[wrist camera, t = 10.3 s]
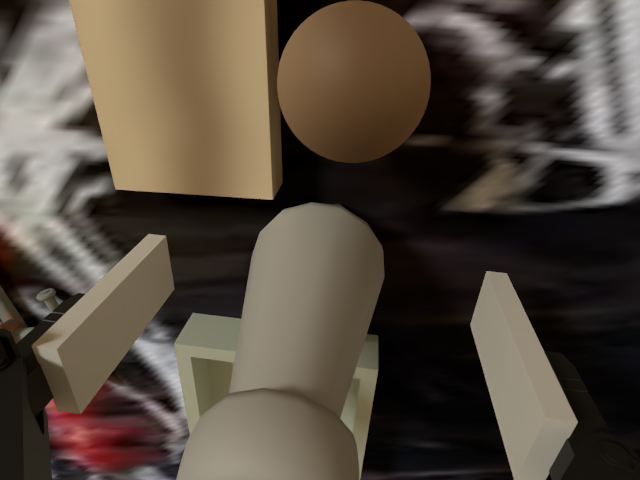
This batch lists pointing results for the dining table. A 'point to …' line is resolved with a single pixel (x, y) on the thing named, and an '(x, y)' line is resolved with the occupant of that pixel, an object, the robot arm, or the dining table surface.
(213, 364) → the tray
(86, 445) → the dining table surface
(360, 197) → the dining table surface
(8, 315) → the clamp
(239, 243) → the dining table surface
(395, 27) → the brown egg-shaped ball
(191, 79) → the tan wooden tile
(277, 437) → the salt shaker
